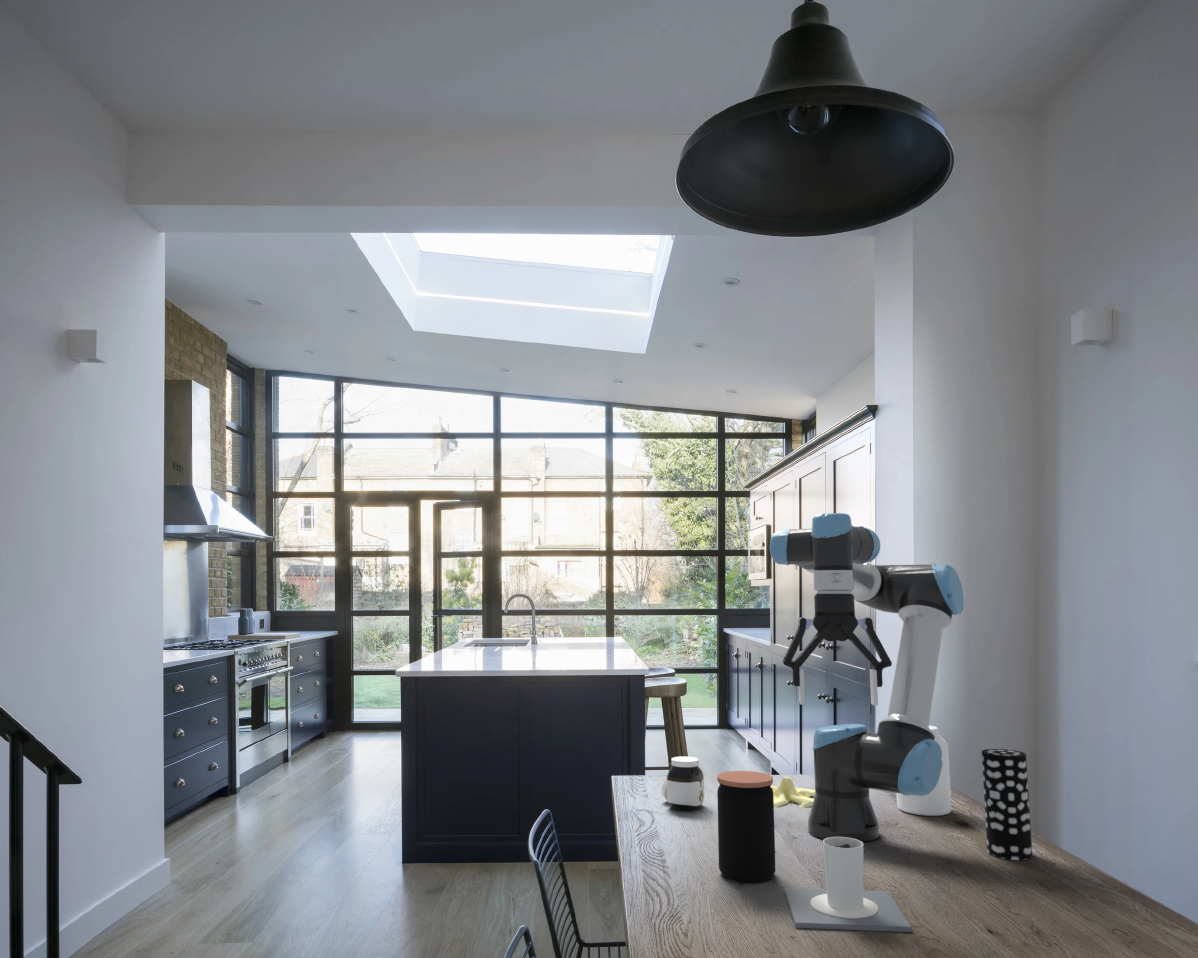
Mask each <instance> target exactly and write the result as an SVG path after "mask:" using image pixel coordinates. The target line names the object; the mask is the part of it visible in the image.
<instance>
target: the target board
mask: <svg viewBox="0 0 1198 958" xmlns="http://www.w3.org/2000/svg"><path fill="white" fill-rule="evenodd" d="M784 895H785V898H786V901H787V905H788V907H789V911H790V915H791V917H792V920H793V924H794V926H795V927H794V928H797V929H819V930H822V929H823V930H842V931H843V930H845V931H847V930H848V931H870V932H872V931H873V932H874V931H876V932H898V933H901V932H902V933H912V926H911V924H910V922H909V921H908V919H907V918H906V916H905V914H904V913H903V911H902V910H901V908H900V907H899V906H898V904H897V903H896V901H895V900H894V898H893V896H892V895H891V893H890V892H889V890H866V889H865V890H864V889H863V908H862V909H860V910H855V911H844V910H838V909H835V908H832V907H831V906H829V904H828V900H827V888H804V887H803V888H799V887H797V888H796V887H784Z"/></svg>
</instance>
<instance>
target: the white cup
mask: <svg viewBox="0 0 1198 958" xmlns="http://www.w3.org/2000/svg"><path fill="white" fill-rule="evenodd" d="M822 848H823V859H824V860H823V862H824V863H823V864H824V873H825V885H826V886H825V887H826V888H825V889H827V900H828V904H829V906H831V907H832V908H835V909H838V910H844V911H855V910H860V909H862V908H863V890H864V842H861V841H859V840H857V839H853V838H847V837H830V838H826V839H823V840H822Z"/></svg>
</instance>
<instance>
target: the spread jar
mask: <svg viewBox="0 0 1198 958" xmlns="http://www.w3.org/2000/svg"><path fill="white" fill-rule="evenodd" d="M699 761H700V760H699V758H698V757H695V756H688V755H687V756H686V755H685V756H684V755H683V756H682V755H681V756H674V757H671V767H670V768H669V770H668V773H667V776H666V779H665V780H664V781H663V784H662V786H661V795H662V797H663V798H664V799H666V801H667V804H668V806H669V807H670V808H672V809H673V810H675V811H683V812H691V811H697V810H699V809H701V808H702V806H703V803H704V799H705V777H704V776H705V775H704V772H703V770H702V768H700V766H699V765H700V762H699Z"/></svg>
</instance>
